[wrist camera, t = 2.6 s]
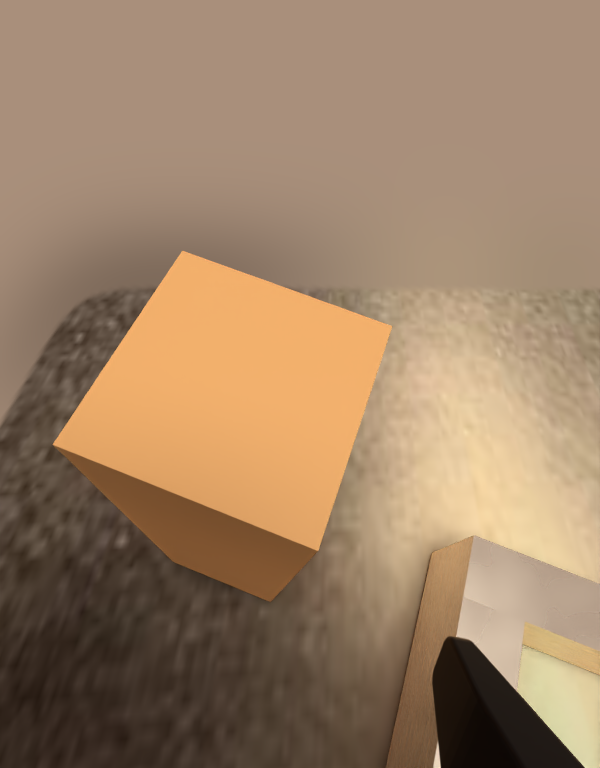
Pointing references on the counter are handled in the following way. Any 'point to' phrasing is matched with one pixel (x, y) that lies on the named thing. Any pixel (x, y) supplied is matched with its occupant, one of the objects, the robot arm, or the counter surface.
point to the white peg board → (490, 628)
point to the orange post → (229, 421)
